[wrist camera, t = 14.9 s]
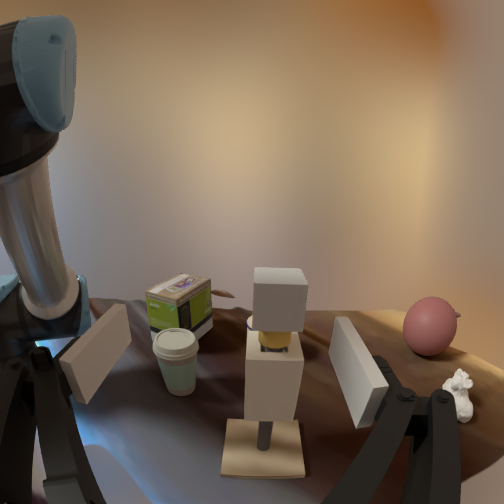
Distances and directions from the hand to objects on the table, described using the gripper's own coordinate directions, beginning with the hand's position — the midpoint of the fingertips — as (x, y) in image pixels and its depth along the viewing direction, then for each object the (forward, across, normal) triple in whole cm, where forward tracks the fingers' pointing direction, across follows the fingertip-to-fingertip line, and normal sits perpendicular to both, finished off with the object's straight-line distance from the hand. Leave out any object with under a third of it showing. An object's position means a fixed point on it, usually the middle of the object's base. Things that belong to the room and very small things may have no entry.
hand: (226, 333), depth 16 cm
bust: (+13, +42, -30) cm, 53 cm away
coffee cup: (+26, -12, -30) cm, 41 cm away
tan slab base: (+11, +4, -30) cm, 32 cm away
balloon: (+37, +50, -30) cm, 69 cm away
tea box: (+46, -16, -30) cm, 57 cm away
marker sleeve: (+12, +4, -18) cm, 22 cm away
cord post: (+11, +4, -29) cm, 31 cm away
